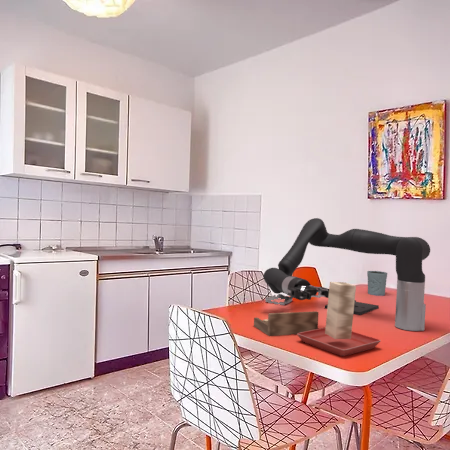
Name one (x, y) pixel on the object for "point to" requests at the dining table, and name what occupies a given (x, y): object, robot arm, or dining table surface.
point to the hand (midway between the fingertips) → (321, 296)
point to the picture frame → (362, 308)
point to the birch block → (340, 310)
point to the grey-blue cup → (376, 282)
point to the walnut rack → (288, 323)
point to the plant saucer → (338, 342)
